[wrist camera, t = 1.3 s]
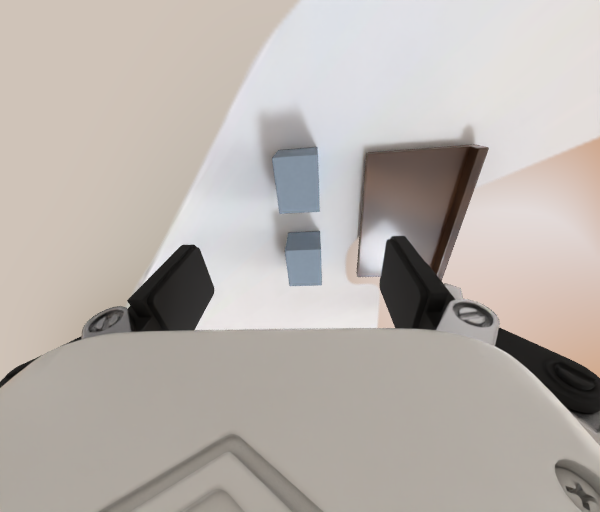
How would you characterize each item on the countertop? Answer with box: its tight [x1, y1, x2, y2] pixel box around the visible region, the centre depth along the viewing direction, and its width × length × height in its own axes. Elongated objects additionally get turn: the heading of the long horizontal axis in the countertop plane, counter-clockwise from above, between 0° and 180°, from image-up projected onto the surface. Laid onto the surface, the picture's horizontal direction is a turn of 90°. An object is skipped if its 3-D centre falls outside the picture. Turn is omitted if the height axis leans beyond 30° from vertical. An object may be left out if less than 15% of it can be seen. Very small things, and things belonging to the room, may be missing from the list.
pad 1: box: [272, 147, 320, 214], centre depth 26 cm, size 6×5×5 cm
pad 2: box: [285, 231, 322, 286], centre depth 32 cm, size 6×5×5 cm
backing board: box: [357, 144, 489, 281], centre depth 29 cm, size 18×12×2 cm, turn 5°
